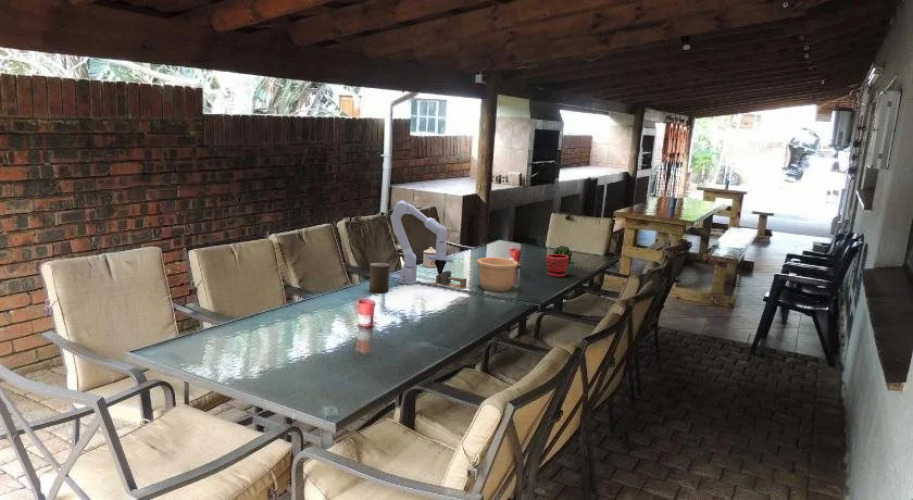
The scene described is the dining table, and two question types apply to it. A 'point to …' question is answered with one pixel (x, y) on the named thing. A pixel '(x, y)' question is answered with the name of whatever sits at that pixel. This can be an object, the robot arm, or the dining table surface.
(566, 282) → the dining table surface
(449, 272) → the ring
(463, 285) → the rail
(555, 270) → the plant pot
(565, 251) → the vegetable
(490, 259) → the pottery
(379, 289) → the pillar candle
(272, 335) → the dining table surface
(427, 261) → the teacup with lid
